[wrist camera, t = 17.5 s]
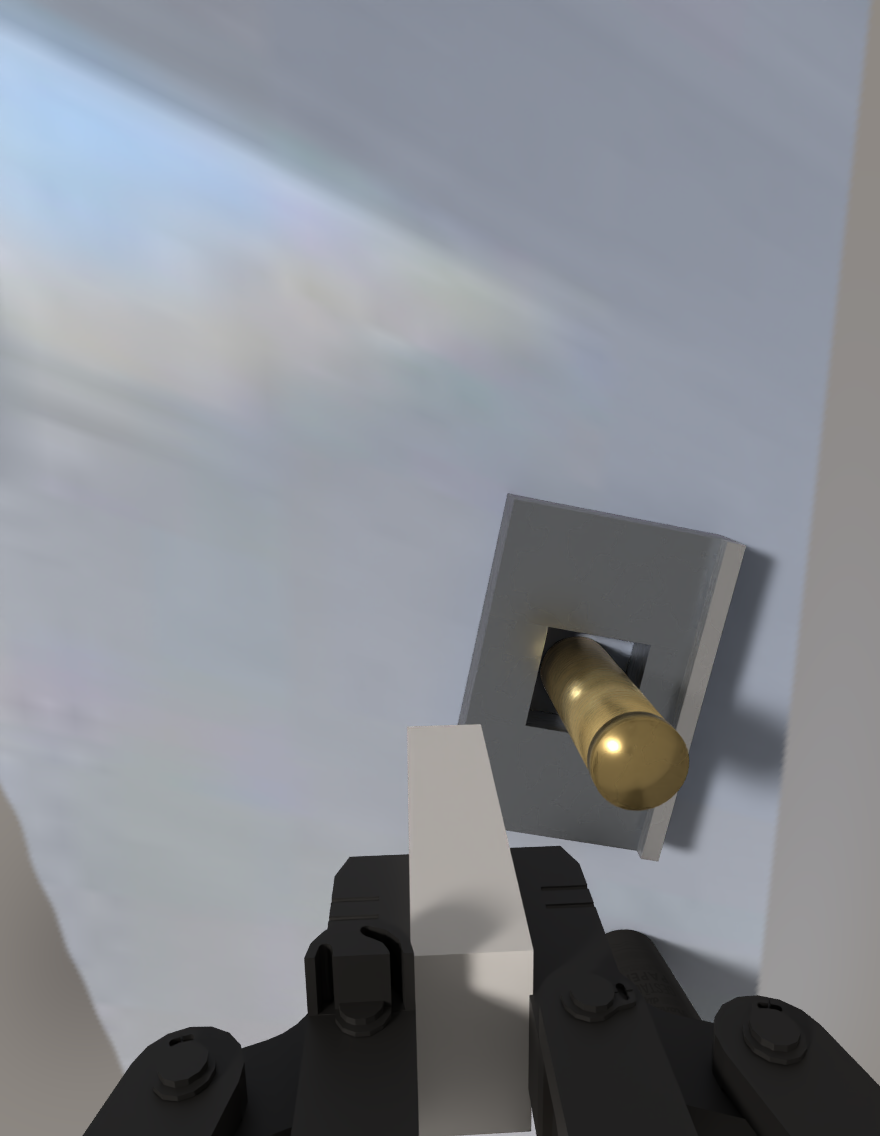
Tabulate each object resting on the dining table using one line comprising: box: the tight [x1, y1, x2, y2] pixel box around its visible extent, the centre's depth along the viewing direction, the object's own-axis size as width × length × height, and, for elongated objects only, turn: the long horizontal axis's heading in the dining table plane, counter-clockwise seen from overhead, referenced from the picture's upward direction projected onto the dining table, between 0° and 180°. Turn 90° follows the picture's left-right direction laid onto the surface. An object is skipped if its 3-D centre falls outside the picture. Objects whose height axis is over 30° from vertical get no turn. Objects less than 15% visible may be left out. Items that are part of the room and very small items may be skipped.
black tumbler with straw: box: [606, 930, 702, 1021], centre depth 39 cm, size 8×8×20 cm
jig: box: [458, 494, 746, 861], centre depth 43 cm, size 18×12×3 cm, turn 169°
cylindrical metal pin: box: [540, 637, 689, 811], centre depth 38 cm, size 4×4×12 cm
